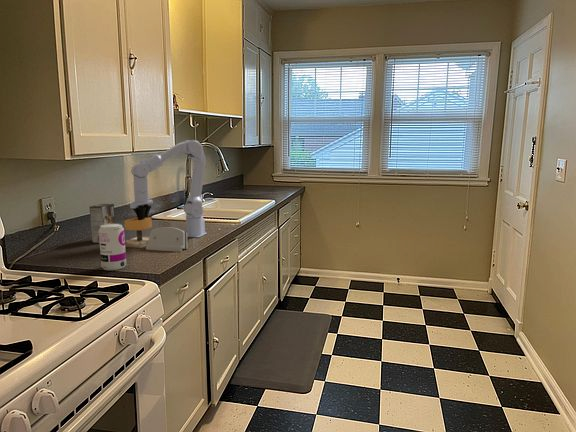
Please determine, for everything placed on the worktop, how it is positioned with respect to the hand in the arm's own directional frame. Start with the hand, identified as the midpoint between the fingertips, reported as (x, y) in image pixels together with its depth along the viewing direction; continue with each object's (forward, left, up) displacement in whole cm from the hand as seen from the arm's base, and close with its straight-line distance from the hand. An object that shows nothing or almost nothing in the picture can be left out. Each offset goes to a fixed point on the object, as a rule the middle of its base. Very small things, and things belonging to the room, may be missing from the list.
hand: (143, 222), depth 192 cm
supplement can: (+38, +12, -9) cm, 41 cm away
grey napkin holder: (+8, +16, -9) cm, 20 cm away
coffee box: (+1, -19, -9) cm, 21 cm away
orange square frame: (+3, 0, -2) cm, 4 cm away
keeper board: (+3, 0, -9) cm, 9 cm away
